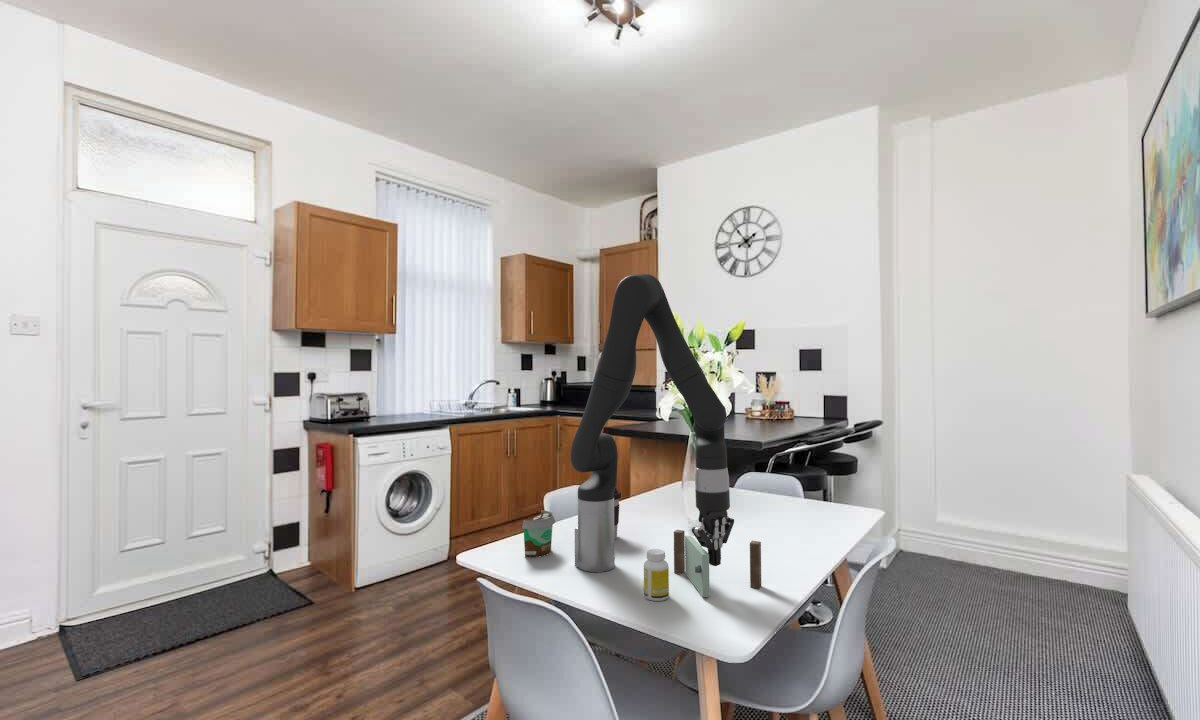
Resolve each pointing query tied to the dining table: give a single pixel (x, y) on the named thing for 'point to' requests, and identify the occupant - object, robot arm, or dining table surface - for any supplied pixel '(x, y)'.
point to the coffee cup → (616, 510)
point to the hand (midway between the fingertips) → (714, 564)
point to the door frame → (754, 558)
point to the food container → (538, 534)
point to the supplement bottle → (656, 576)
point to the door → (697, 565)
